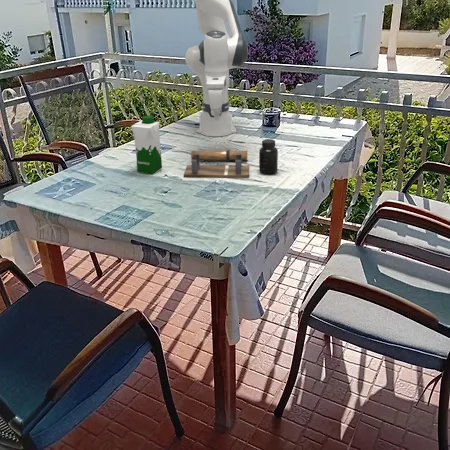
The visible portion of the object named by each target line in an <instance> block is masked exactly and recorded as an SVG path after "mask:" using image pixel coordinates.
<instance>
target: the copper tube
mask: <svg viewBox="0 0 450 450" xmlns="http://www.w3.org/2000/svg"><path fill="white" fill-rule="evenodd" d="M190 153H191V154H190V156H191V157H190V158H191V160H190V161H192V160H194V156H193V155H194V153H198V154H199V161H200V162H205V161H206V162H207V161H208V162H209V161H210V162H211V161H212V162H232V161H234V162H235V161H236V154H242V162H247V161H248V150H191V152H190Z"/></svg>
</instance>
